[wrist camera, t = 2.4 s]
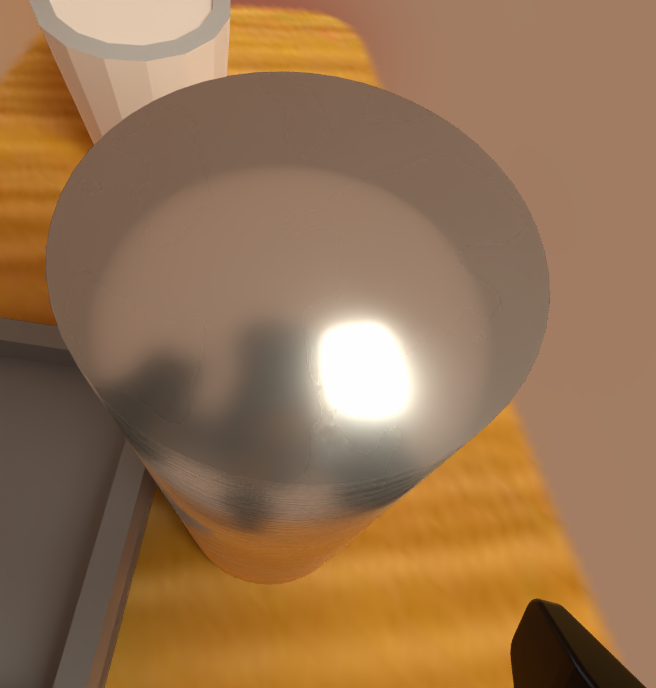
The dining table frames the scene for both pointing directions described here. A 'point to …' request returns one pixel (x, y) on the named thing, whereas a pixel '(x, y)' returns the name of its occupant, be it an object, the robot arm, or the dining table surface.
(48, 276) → the silver metal cylinder
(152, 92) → the white cup
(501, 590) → the dining table surface
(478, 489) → the dining table surface
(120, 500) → the tray
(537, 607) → the robot arm
